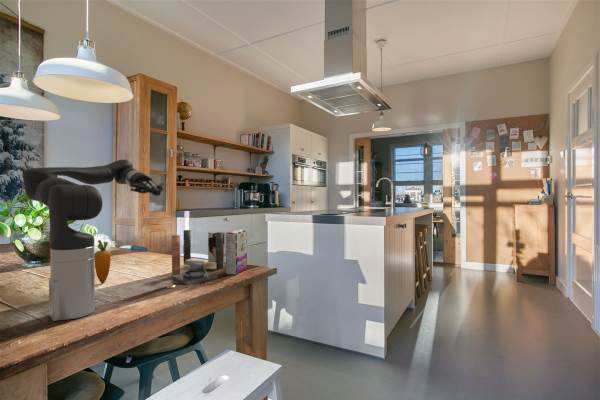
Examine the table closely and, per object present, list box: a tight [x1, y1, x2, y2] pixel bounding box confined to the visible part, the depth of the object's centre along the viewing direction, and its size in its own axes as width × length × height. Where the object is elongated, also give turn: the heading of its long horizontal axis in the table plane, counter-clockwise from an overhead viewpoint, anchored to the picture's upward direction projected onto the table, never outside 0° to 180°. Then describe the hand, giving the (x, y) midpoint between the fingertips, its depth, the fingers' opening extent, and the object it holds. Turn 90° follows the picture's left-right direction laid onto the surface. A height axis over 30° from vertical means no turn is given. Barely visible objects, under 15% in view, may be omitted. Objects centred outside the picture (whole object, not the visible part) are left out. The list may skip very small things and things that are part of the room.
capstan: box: [171, 229, 224, 275], centre depth 117 cm, size 18×17×14 cm
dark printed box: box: [207, 230, 226, 269], centre depth 136 cm, size 7×7×15 cm
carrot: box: [94, 239, 112, 284], centre depth 110 cm, size 5×5×15 cm
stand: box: [165, 269, 218, 289], centre depth 116 cm, size 18×13×3 cm
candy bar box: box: [225, 229, 248, 276], centre depth 129 cm, size 11×5×16 cm, turn 168°
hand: (157, 193), depth 117 cm, fingers closed
